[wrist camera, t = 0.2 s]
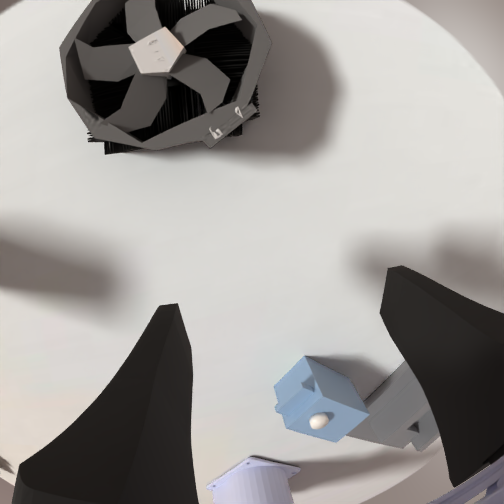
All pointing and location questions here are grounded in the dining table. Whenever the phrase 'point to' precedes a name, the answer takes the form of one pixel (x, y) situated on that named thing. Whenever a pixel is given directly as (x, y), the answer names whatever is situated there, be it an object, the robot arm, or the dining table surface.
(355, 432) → the board
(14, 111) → the dining table surface
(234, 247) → the dining table surface
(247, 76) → the cpu cooler
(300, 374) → the block
